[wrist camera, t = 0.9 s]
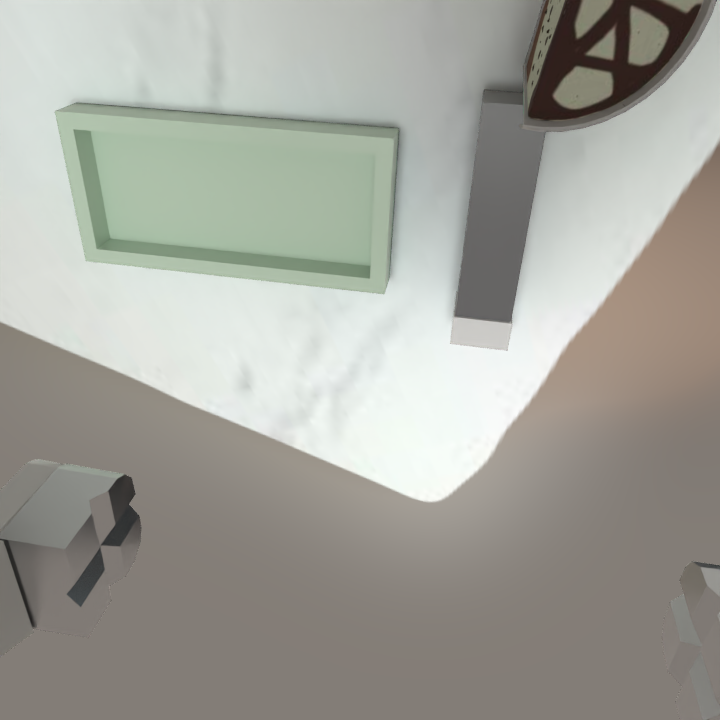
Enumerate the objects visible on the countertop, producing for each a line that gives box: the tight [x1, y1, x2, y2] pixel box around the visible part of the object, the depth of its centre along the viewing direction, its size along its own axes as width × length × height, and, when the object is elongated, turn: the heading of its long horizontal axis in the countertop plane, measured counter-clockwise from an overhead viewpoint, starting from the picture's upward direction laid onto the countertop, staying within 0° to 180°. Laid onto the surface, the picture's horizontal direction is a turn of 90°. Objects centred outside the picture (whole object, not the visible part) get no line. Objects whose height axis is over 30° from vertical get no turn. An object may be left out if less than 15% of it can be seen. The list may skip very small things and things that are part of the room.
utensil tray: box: [55, 103, 399, 294], centre depth 43 cm, size 10×21×2 cm, turn 88°
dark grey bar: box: [450, 90, 545, 351], centre depth 40 cm, size 15×4×4 cm, turn 178°
